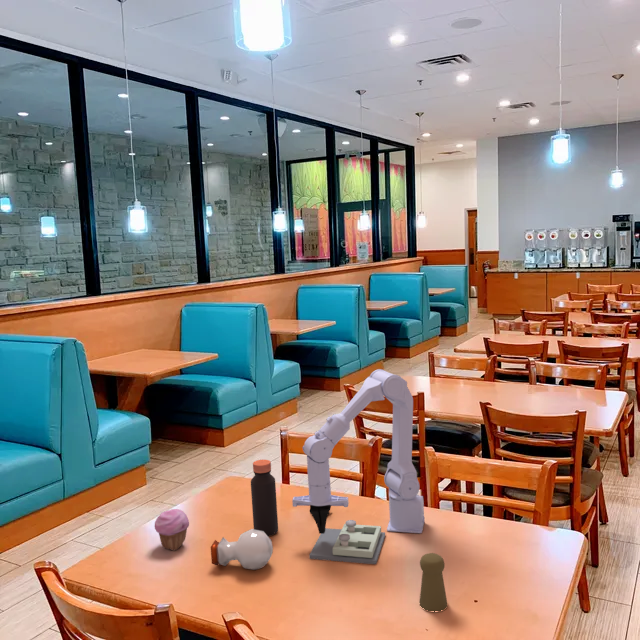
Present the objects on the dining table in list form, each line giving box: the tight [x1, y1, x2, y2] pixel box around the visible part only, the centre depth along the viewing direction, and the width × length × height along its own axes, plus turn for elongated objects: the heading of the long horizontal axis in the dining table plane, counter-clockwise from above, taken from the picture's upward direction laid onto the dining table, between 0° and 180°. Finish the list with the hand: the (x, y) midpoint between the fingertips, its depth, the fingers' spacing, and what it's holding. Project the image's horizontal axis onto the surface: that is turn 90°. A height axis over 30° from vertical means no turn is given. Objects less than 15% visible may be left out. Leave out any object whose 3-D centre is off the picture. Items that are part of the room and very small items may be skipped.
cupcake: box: [154, 508, 190, 551], centre depth 166 cm, size 9×9×10 cm
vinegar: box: [250, 459, 279, 537], centre depth 171 cm, size 7×7×20 cm
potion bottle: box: [210, 528, 274, 571], centre depth 153 cm, size 9×10×15 cm
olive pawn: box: [419, 552, 448, 613], centre depth 133 cm, size 6×6×11 cm
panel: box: [333, 523, 382, 558], centre depth 160 cm, size 10×14×2 cm
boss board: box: [308, 519, 386, 565], centre depth 161 cm, size 17×15×5 cm
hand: (322, 531), depth 163 cm, fingers closed
